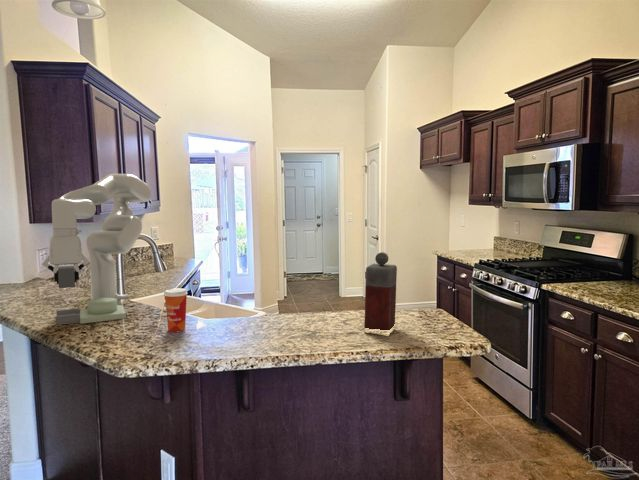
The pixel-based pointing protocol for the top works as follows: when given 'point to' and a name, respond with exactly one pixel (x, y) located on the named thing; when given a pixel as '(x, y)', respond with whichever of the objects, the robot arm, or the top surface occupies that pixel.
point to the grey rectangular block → (66, 276)
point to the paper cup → (176, 309)
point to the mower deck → (102, 317)
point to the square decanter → (380, 294)
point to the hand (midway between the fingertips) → (66, 282)
